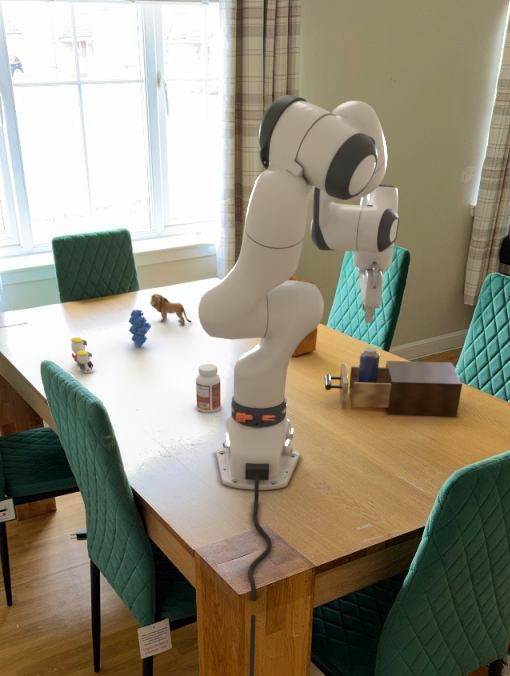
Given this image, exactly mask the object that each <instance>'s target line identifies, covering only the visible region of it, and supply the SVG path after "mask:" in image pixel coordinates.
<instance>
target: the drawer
mask: <svg viewBox="0 0 510 676" xmlns="http://www.w3.org/2000/svg"><path fill="white" fill-rule="evenodd" d="M358 373H359V365H357V366H356V365H351V366H350V374H349V375H350V377H349V376H348V370H347V363H341V364H340V374H339V376H331V375H330V374H325V375H324V389H325V390H326V391H330V390H332V389H338V392H339V399H340V400H339V401H340V408H341V409H342V410H347V404H348V394H349V396H350V404H351V405H350V406H351V407H355V408H356V407H357V408H384V409H385V408H386V409H387V408H389V400H390V392H391V380H390V376H389V373H388V369H387V367H386V366H378V375H377V383H365V382H358ZM332 380H337V381H339V383H338V384H339V385H337V384H336V385H335V384H334V385H333V384H332Z"/></svg>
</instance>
